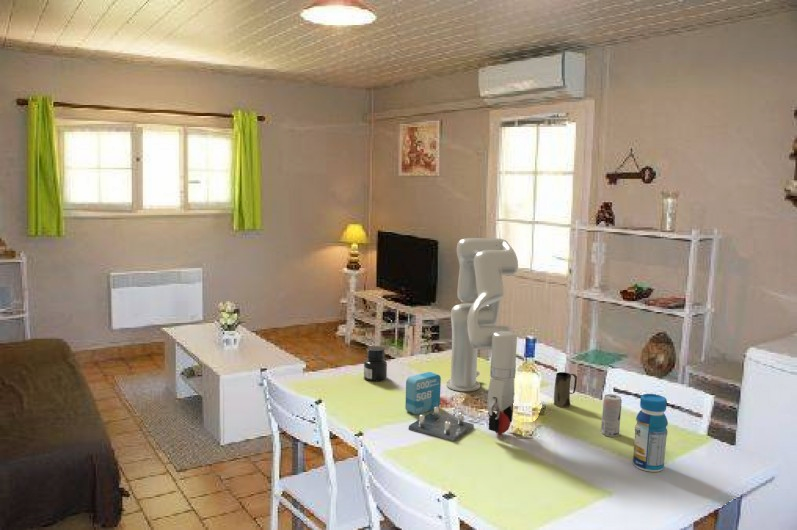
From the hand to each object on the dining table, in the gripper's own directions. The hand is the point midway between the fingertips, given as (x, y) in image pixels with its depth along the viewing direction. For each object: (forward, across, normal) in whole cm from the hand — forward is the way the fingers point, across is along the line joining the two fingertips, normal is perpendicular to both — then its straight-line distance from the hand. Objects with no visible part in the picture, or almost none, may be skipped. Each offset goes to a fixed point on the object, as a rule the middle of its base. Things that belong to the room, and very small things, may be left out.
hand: (500, 425), depth 202 cm
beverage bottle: (+3, -4, +43) cm, 43 cm away
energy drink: (+3, -21, +28) cm, 35 cm away
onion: (+3, 0, 0) cm, 3 cm away
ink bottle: (+3, -22, -62) cm, 66 cm away
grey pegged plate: (+3, +6, -17) cm, 18 cm away
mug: (+3, -37, +8) cm, 38 cm away
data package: (+3, -4, -30) cm, 31 cm away
